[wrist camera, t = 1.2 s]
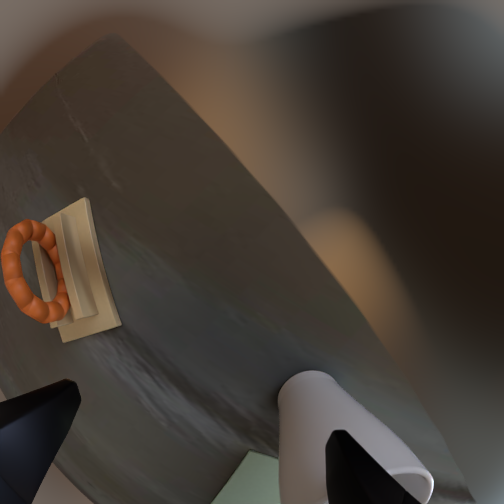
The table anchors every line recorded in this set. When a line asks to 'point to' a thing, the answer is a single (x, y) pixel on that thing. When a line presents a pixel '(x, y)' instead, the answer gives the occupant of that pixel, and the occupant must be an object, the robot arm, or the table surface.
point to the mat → (252, 482)
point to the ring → (14, 276)
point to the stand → (77, 273)
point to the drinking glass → (319, 430)
